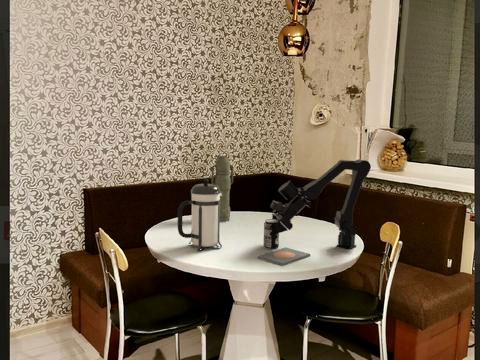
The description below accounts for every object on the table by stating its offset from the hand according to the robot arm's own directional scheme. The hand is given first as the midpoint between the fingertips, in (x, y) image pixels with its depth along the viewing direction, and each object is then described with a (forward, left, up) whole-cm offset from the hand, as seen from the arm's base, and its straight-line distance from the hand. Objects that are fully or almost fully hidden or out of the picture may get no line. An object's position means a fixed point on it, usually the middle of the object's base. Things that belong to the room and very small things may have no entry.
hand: (268, 232), depth 200 cm
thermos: (+51, -21, -7) cm, 56 cm away
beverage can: (-1, -1, -7) cm, 7 cm away
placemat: (-14, +6, -7) cm, 17 cm away
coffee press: (+19, +21, -7) cm, 29 cm away
